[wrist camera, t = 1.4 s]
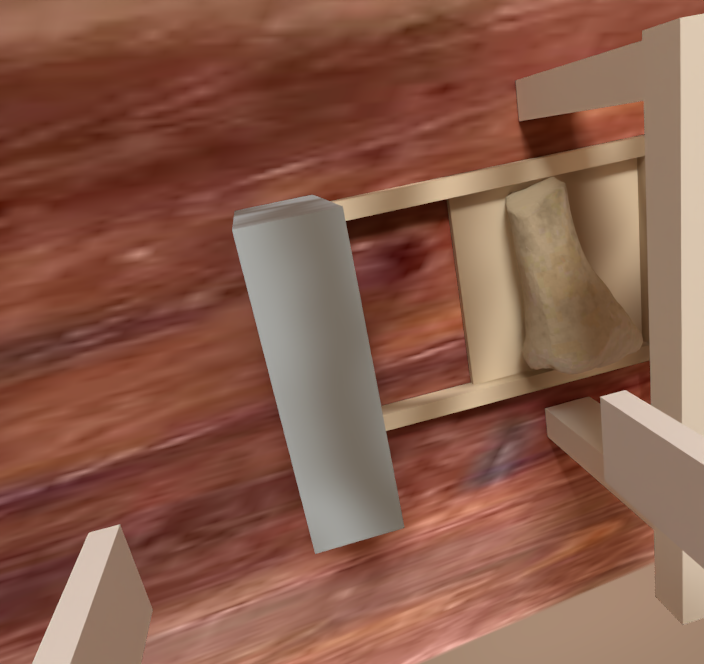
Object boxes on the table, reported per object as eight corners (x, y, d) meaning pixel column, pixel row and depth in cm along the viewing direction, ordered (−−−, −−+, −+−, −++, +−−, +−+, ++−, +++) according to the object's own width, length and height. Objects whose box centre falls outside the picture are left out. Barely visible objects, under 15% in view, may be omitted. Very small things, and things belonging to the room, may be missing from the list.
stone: (621, 333, 34) (679, 360, 29) (536, 392, 34) (580, 428, 29) (540, 172, 30) (592, 174, 26) (444, 240, 30) (478, 253, 26)
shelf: (510, 446, 35) (682, 624, 21) (469, 89, 29) (680, 17, 15) (625, 414, 36) (860, 565, 22) (612, 61, 30) (932, -29, 16)
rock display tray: (295, 452, 32) (315, 553, 24) (234, 211, 28) (232, 230, 20) (655, 356, 35) (787, 416, 27) (650, 123, 31) (806, 107, 22)
